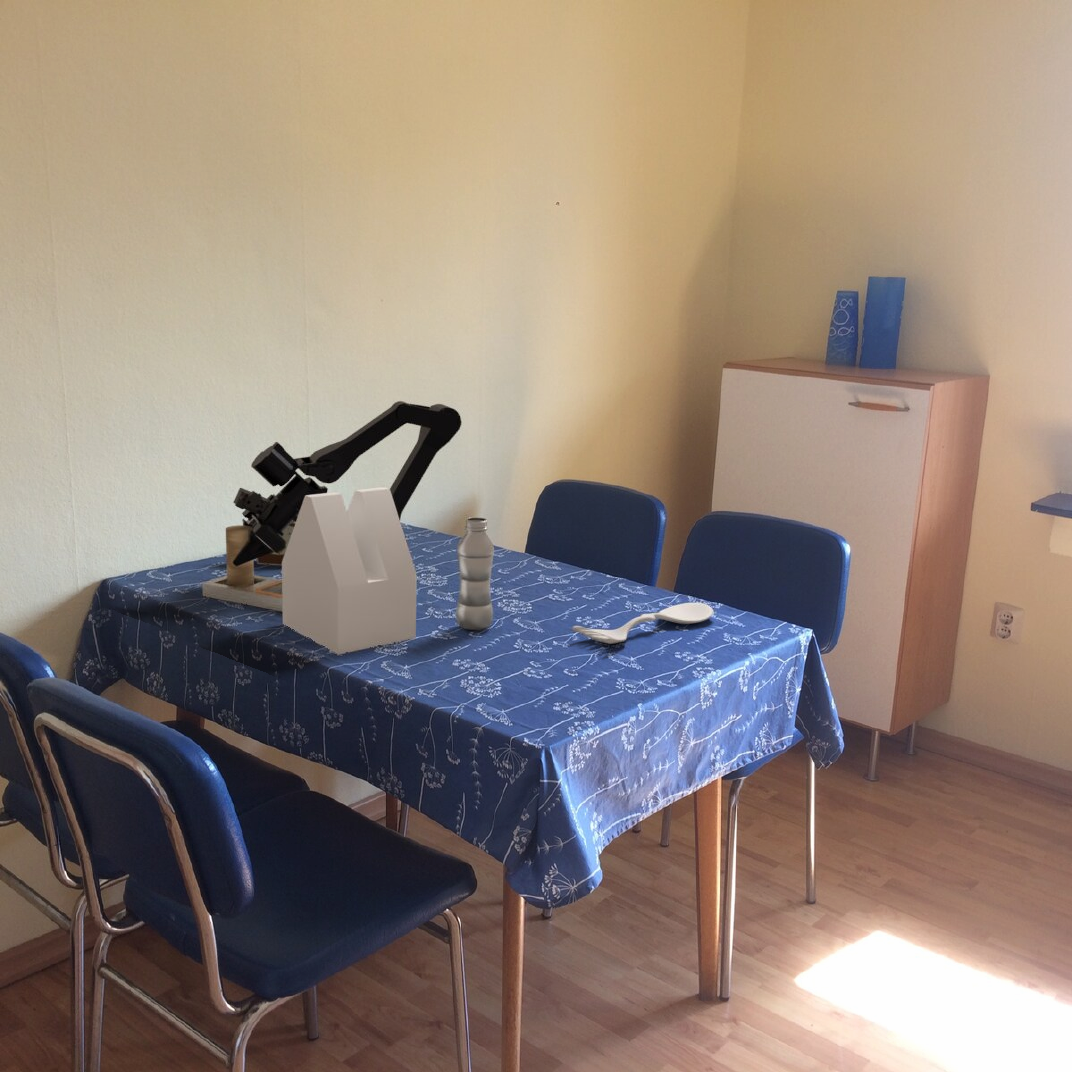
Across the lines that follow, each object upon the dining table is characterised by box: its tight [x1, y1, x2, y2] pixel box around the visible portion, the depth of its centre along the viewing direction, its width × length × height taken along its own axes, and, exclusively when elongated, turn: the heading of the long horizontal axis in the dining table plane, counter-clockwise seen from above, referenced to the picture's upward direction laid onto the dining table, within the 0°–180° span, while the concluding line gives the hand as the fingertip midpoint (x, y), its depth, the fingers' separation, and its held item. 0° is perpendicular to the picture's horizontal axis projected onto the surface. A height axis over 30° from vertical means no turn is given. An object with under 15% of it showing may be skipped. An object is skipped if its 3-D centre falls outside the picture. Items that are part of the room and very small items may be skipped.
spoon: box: [571, 602, 715, 645], centre depth 201 cm, size 9×32×4 cm, turn 134°
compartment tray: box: [202, 574, 283, 613], centre depth 212 cm, size 21×10×3 cm, turn 65°
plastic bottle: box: [455, 516, 495, 631], centre depth 197 cm, size 6×7×20 cm
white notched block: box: [281, 486, 418, 655], centre depth 192 cm, size 19×15×25 cm
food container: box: [256, 516, 298, 566], centre depth 238 cm, size 12×6×10 cm, turn 84°
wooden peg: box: [225, 524, 255, 588], centre depth 213 cm, size 5×5×13 cm
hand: (232, 561), depth 212 cm, fingers closed on wooden peg, 5 cm apart
